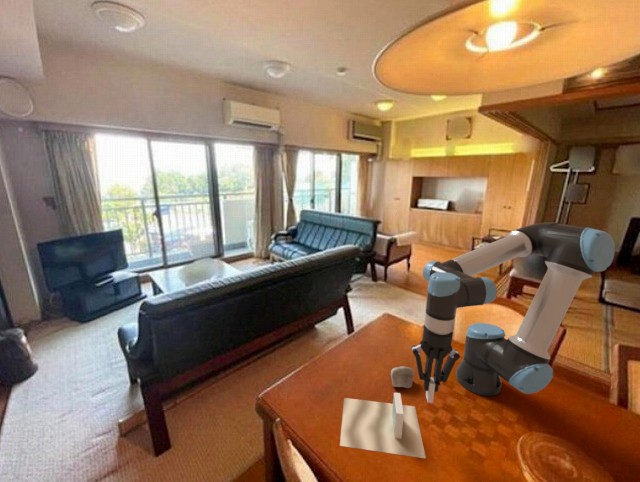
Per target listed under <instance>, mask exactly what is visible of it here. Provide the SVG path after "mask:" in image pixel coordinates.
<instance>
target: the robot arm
mask: <svg viewBox="0 0 640 482" xmlns="http://www.w3.org/2000/svg"><path fill="white" fill-rule="evenodd" d="M615 253H616V245H615V242H614V239H613V237H612V236H611V234H610V233H608V232H607V231H603V230H599V229H596V228H592V227H585V226H579V225H572V224H564V223H559V222H549V221H547V222H540V223H538V222H537V223H534V224H529V225H526V226H522V227H520V228H517V229H513V230H511V231H510V232H508V233H507V234H506V235H505V237H502V238H500V239H497V240H496V241H492V242H490V243H488V244H485V245H482V246H480V247H478V248H475V249H473V250H471V251H468V252H465V253H463V254H461V255H459V256H456V257H453V258H451V259H449V260H446V261H443V262H441V261H438V260H431V261H428V262H427V263H425V265H424V267H423V269H422V277H423V278H424V279H425V280H426V281H427V282H428V286H427V294H426V303H425V304H426V305H425V314H424V321H423V323H424V326H423V328H422V329H423V331H422V339H421V340H420V341H419V344H418V345H414V344H413V345H412V346H411V350H412V353H413V355H414V357H415V361H416V368H417V373H418V374H417V375H418V377H419V380H420V381H423V389H424V391H425V397H426V401H427V403H428V404H433V403H434V396H435V393H438V392H439V386H441V383H447V381H448V379H449V377H450V375H451V373H452V370H453V368H454V366H455V363H456V362H457V361H458V360H459V359H460V358H461V355H460V354H459V353H460V352H459V351H458V349H454V348H453V346H452V342H453V341H452V340H453V335H454V329H455V328H454V327H455V320H456V319H455V318H456V313H457V309H459V308H465V307H467V308H468V307H475V306H484V305H485V304H486V305H487V304H491V303H492V302H494V301H495V300H496V298H497V293H498V289H497V286H496V284H495V282H494V281H493V280H492V279H490V278H489V277H486V276H476V275H478V274H481V273H484V272H485V271H488V270H491V269H493V268H495V267H497V266H500V265H501V264H504V263H506V262H509V261H511V260H514V259H516V258H526V257H529V256H542V257H544V258H545V259H544V260H545V261H544V263H545V265H546V267H547V270H546V271H545V272H546V273H545V274H544V276H543V278H542V280H541V282H540V284H539V286H538V289H537V290H536V293H535V295H534V297H533V299H532V301H531V302H530V305H529V308H528V309H527V311H526V314H525V315H524V318H523V319H522V321H521V324H520V325H519V327H518V330H517V332H516V334H515V335H511V336H508V337H507V339H506V338H505V337H506V333H505V330H504V329H503V328H501V327H500V326H498V325H495V324H491V323H487V322H486V323H485V322H475V323H472V324H470V325H468V327H467V330H466V334H465V343H464V350H463V357H462V360H461V361H460V362H459V365H457V367H456V371H455V377H456V380H457V382H458V383H459V384H460V385H461V386H462V387H463V388H465V389H467V391H469V392H471V393H473V394H476V395H479V396H485V397H492V396H498V394H500V392H501V390H502V379H503V380H504V381H505V382H507V383H508V385H510V386H511V387H514V388H515V389H516V390H518V392H521V393H522V394H525V395H526V394H527V395H531V394H535V393H538V392H540V391H542V390H543V389H545V388H546V387H547V386H548V385H549V383H550V382H551V381H552V379H553V376H554V369H553V368H552V366H551V365H550V364H549V362H550V360H551V356H550V353H549V352H548V349H549V348H550V346H551V344H552V341H553V339H554V337H555V336H556V334H557V331H558V330H559V328H560V325H561V324H562V322H563V321H564V318H565V316H566V313H567V312H568V310H569V309H570V306H571V304H572V302H573V300H574V298H575V296H576V295H577V292H578V290H579V288H580V286H581V284H582V282H583V281H584V280H587V279H589V278H590V279H591V278H593V275H594V273H595V272H596V273H597V272H604V271H606V270H607V268H609V267H610V266H611V265H612V263H613V260H614V257H615ZM475 276H476V277H475ZM422 351H423V353H424V354H425V363H424V364H425V366H424V369H423V365H422V364H423V363H422V358H421V356H420V355H421V353H422ZM446 357H447V358H446ZM445 358H446V360H445V362H444V359H445ZM434 360H435V361H434ZM433 363H434V369H433ZM443 363H444V364H443ZM432 369H433V370H432ZM423 370H424V371H423ZM432 371H433V377H432ZM501 378H502V379H501Z"/></svg>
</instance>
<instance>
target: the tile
mask: <svg viewBox="0 0 640 482" xmlns="http://www.w3.org/2000/svg"><path fill="white" fill-rule="evenodd" d="M392 404H393V410H392V419H393V429H394V438H399V439H401V438H402V427H403V415H404V413H403V407H402V405H403V402H402V395H401V392H393V399H392Z"/></svg>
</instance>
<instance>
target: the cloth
mask: <svg viewBox="0 0 640 482" xmlns="http://www.w3.org/2000/svg"><path fill="white" fill-rule="evenodd" d="M342 407H343V408H342V419H341V426H340V427H341V429H340V439H339V440H340V441H339V446H340V447H346V448H352V449H358V450H367V451H372V452H373V451H374V452H380V453H387V454H392V455H399V456H406V457H412V458H413V457H414V458H421V459H424V460H425V459H427V456H426V451H425V447H424V444H423V439H422V434H421V429H420V424H419V420H418V415H417V409H416V406H414V405H407V404H402V407H403V413H404V415H403V427H402V438H401V439H399V438H394V429H393V419H392V410H393V403H390V402H380V401H375V400H374V401H372V400H366V399H365V400H364V399H356V398H348V397H344V398H343V406H342Z"/></svg>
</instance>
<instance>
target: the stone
mask: <svg viewBox="0 0 640 482" xmlns="http://www.w3.org/2000/svg"><path fill="white" fill-rule="evenodd" d="M414 376H415V371H414V370H413V368H411V367H408V366H405V365H404V366H403V365H402V366H397V367H396V366H395V367H393V368H392V369H391V371H390V377H391V378H390V379H391V383H392V387H395V388H405V389H410V388H412V387H413V380H414Z"/></svg>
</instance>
